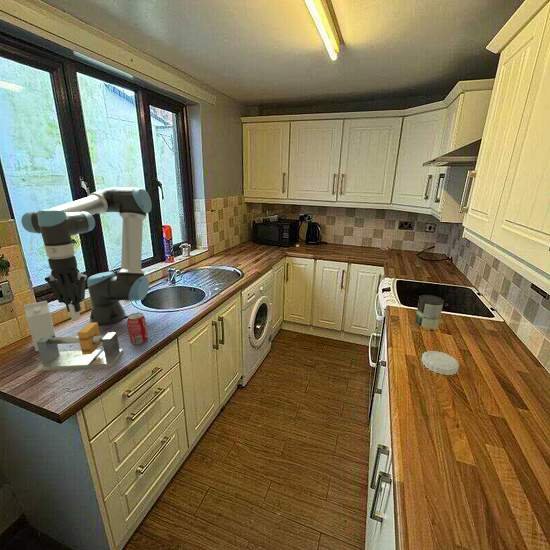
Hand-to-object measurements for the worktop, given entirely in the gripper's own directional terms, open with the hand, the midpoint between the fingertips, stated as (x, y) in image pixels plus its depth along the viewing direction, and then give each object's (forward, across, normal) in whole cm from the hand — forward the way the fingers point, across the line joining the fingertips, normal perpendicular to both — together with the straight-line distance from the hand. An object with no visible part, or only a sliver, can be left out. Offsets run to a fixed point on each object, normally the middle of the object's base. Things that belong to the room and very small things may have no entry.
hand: (76, 319), depth 103 cm
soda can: (+18, +15, +12) cm, 26 cm away
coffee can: (+18, +147, +15) cm, 149 cm away
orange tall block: (+12, +4, -1) cm, 12 cm away
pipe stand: (+17, -1, -1) cm, 17 cm away
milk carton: (+17, -22, +12) cm, 30 cm away
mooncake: (+18, +132, -16) cm, 134 cm away
